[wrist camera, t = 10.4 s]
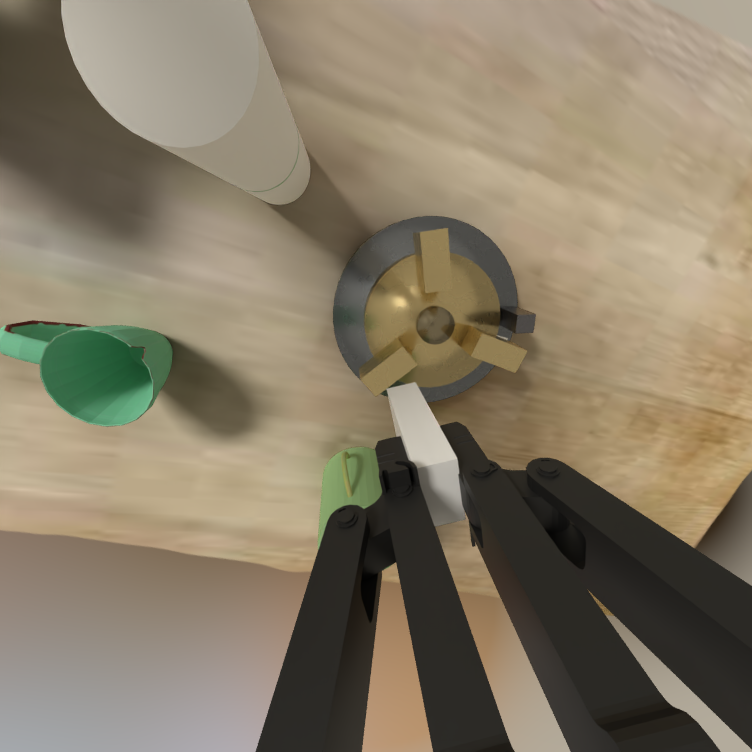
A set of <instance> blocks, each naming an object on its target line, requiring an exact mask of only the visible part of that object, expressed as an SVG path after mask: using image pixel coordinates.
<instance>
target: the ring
mask: <svg viewBox="0 0 752 752" xmlns="http://www.w3.org/2000/svg"><path fill="white" fill-rule="evenodd" d="M444 228H448V236H449V251H450V253H454V254H458V255H460V256H463V257H465V258H467V259H469V260H471V261H473V262H474V263H475V264H477V265H478V266H479V267H480V268H481V269H482V270H483V271H484V272H485V273H486V274H487V276H488V277H489V278H490V280H491V281H492V283H493V285H494V287H495V290H496V292H497V295H498V299H499V304H500V324H499V330H498V334H497V336H498V337H501V338H503V339H506V340H508V341H510V339H511V336H512V333H513V332H514V333H533V331H534V324H535V317H536V314H534V313H531V312H529V311H526V310H523V309H521V308H518V307H517V303H518V302H517V290H516V285H515V280H514V277H513V274H512V271H511V268H510V266H509V264H508V262H507V260H506V258H505V256H504V255H503V253H502V252H501V251H500V249H499V248H498V246H497V245H496V244H495V243H494V242H493V241H492V240H491V239H490V238H489V237H488V236H486V235H485V234H484V233H482V232H481V231H480V230H478V229H476V228H475V227H473V226H471V225H469V224H467V223H464V222H462V221H459V220H456V219H452V218H447V217H439V216H424V217H415V218H411V219H407V220H403V221H400V222H398V223H395V224H392V225H390V226H388V227H386V228H384V229H382V230H381V231H379V232H377V233H376V234H374V235H373V236H372V237H370V238H369V239H368V240H367V241H366V242H365V243H364V244H363V245H362V246H361V247H360V248H358V250H357V251H356V252H355V253H354V255H353V256H352V257H351V259H350V260H349V262H348V263H347V265H346V267H345V269H344V270H343V273H342V275H341V277H340V280H339V282H338V286H337V290H336V293H335V300H334V307H333V324H334V331H335V336H336V340H337V344H338V347H339V349H340V351H341V354H342V356H343V358H344V359H345V361H346V363H347V365H348V366H349V367H350V369H351V370H352V371H353V373H354V374H355V375H356V376H357V377H358V378H359V379H360V373H359V368H360V367H361V366H362V365H363V364H365V363H366V362H367V361H369V360H370V359H371V358H372V357H374V356H373V354H372V353H371V350H370V348H369V345H368V342H367V338H366V334H365V329H364V309H365V303H366V300H367V297H368V294H369V292H370V290H371V287H372V286H373V284H374V282H375V281H376V279H377V278H378V277H379V276H380V274H381V273H382V272H383V271H384V270H385V269H386V268H387V267H388V266H390V265H391V264H392V263H394V262H395V261H397V260H399V259H401V258H402V257H404V256H407V255H410V254H412V253H415V251H414V241H413V233H417V232H423V231H430V230H436V229H444ZM494 366H495V365H493V364H490V363H488V362H485V361H482V362H481V364H480V365H479V366H478V367H477V368H476V369H474V370H473V371H472V372H471V373H469V374H468V375H466V376H465V377H463V378H461V379H459V380H457V381H455V382H453V383H450V384H447V385H443V386H438V387H418V388H419V389H420V391H421V393H422V395H423V397H424V399H425V400H426V402H434V401H439V400H443V399H447V398H449V397H452V396H455V395H457V394H459V393H461V392H463V391H465V390H467V389H469V388H470V387H472V386H473V385H475V384H476V383H478V382H479V381H480V380H481V379H482V378H484V377H485V376H486V375H487V374H488V373H489V372H490V371H491V370H492V369H493V367H494ZM405 384H406V383H403V382H401V381H399V380H397V381H396V382H395V383H393V384H392V385H391V386H390V387H388V388H392V387H396V386H401V385H405ZM388 388H387V389H388ZM387 389H386V390H384V391H383V392H382V393H380V394H382V395H384V396H387V397H388V393H387Z"/></svg>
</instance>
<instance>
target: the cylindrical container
mask: <svg viewBox="0 0 752 752" xmlns="http://www.w3.org/2000/svg"><path fill="white" fill-rule="evenodd" d="M61 15H62V21H63V26H64V32H65V37H66V41H67V44H68V47H69V50H70V53H71V55H72V58H73V61H74V64H75V66H76V68H77V69H78V71H79V73H80V75H81V77H82V79H83V81H84V82H85V84H86V86H87V87H88V89H89V90H90V91H91V93H92V94H93V95H94V97H95V98H96V99H97V101H98V102H99V104H100V105H101V106H102V107H103V108H104V109H105V110H106V111H107V112H108V113H109V114H110V115H111V116H112V117H113V118H114V119H115V120H116V121H118V122H119V123H120V124H122V125H123V126H124V127H126V128H127V129H129V130H130V131H131V132H133V133H135V134H137V135H139V136H141V137H142V138H144V139H146V140H148V141H150V142H152V143H154V144H156V145H158V146H160V147H162V148H163V149H165V150H167V151H169V152H171V153H173V154H175V155H177V156H179V157H181V158H182V159H184V160H186V161H188V162H190V163H192V164H194V165H196V166H198V167H200V168H202V169H203V170H205V171H207V172H209V173H211V174H213V175H215V176H217V177H219V178H221V179H222V180H224V181H226V182H228V183H230V184H232V185H234V186H236V187H238V188H240V189H242V190H244V191H246V192H247V193H249V194H251V195H253V196H255V197H257V198H259V199H261V200H263V201H265V202H267V203H270V204H275V205H284V204H288V203H291V202H293V201H295V200H296V199H298V198H299V197H300V196H301V195H302V194H303V193H304V191H305V189H306V188H307V185H308V183H309V179H310V161H309V157H308V154H307V151H306V149H305V146H304V144H303V141H302V138H301V136H300V133H299V131H298V128H297V125H296V123H295V120H294V118H293V115H292V113H291V110H290V107H289V105H288V102H287V100H286V97H285V95H284V92H283V90H282V87H281V85H280V82H279V79H278V77H277V74H276V72H275V69H274V67H273V64H272V62H271V59H270V56H269V54H268V51H267V49H266V46H265V44H264V41H263V39H262V36H261V34H260V31H259V28H258V26H257V23H256V21H255V18H254V16H253V13H252V11H251V8H250V5H249V3H248V0H61Z"/></svg>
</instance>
